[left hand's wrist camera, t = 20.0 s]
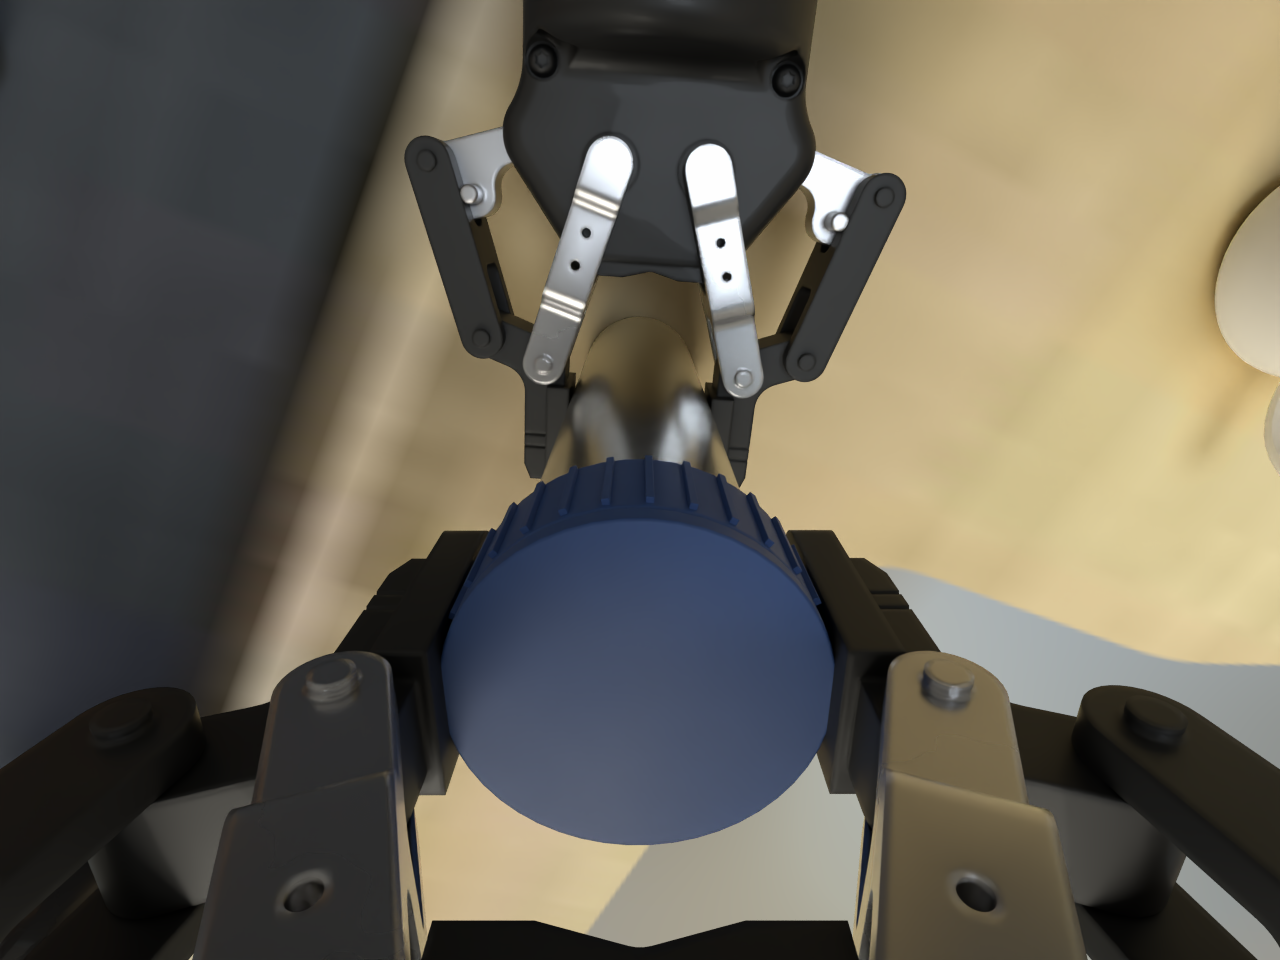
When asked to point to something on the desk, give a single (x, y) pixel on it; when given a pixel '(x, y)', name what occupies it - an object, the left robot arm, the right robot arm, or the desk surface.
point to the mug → (1255, 303)
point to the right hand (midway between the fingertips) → (634, 491)
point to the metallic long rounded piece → (638, 404)
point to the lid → (637, 656)
